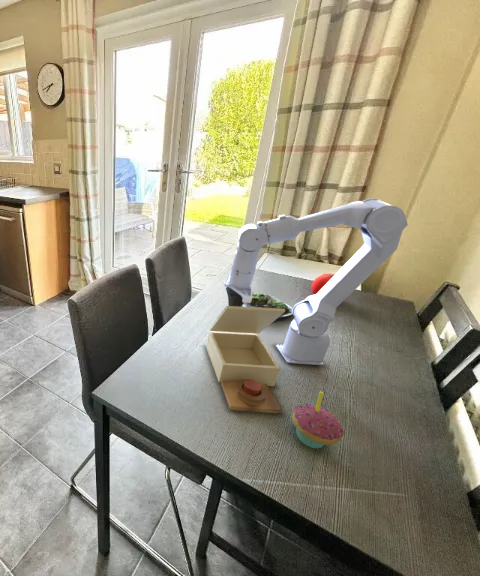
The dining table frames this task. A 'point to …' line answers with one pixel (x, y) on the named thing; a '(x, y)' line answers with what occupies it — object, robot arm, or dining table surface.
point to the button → (252, 387)
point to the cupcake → (316, 425)
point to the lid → (245, 319)
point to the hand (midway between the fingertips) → (233, 312)
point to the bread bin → (241, 358)
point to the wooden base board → (249, 398)
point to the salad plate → (270, 304)
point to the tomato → (320, 282)
